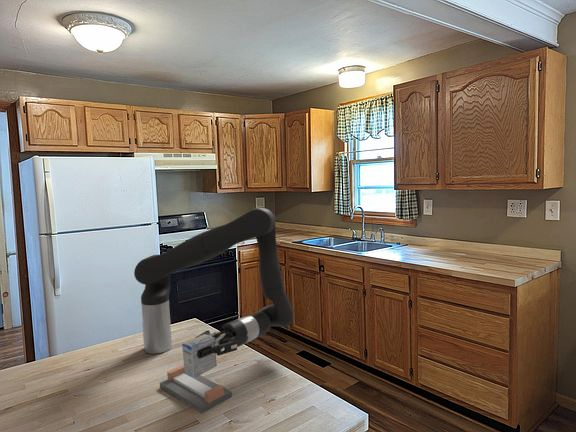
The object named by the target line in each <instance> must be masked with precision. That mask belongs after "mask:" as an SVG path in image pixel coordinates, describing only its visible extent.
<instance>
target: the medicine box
mask: <svg viewBox="0 0 576 432" xmlns="http://www.w3.org/2000/svg"><path fill="white" fill-rule="evenodd" d="M196 337H197V336H196ZM214 342H215V338H214V337H212V336H209V335H206V334H204V335H201V336H199V337H197V338H195V337H194V338H192V339H190V340H187V341H185V342H183V343H182V347H181V348H182V357H183V358H182V359H183V366H184V372H185V374H186V375H188V376H190V377H192V378H195V377H197V376H199V375H201V376H202V375H203V374H205V373H207V372H208V371H210V370H212V369H214V368H216V367H217V366H218V365H217V353H216V354H214V355H211V354H210V355H207V356H205V357H203V358H201V359H200V358H198V356H197V351H198V350H200V349H202V348H204V347H207V346H210V345H211V344H213V343H214Z"/></svg>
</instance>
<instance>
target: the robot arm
mask: <svg viewBox="0 0 576 432" xmlns="http://www.w3.org/2000/svg"><path fill="white" fill-rule="evenodd" d="M276 223H277V222H276V217H275V214H274V213H273V212H272V211H271V210H270V209H268V208H265V207H257V208H252V209H251V210H249V211H247V212H245V213H243V214H242V215H241V216H239V217H237V218H236V219H234V220H232V221H230V222H228V223H226V224H222V225H219V226H216V227H214V228H210V229H208V230H206V231H203V232H201V233H199V234H196V235H193V236H192V237H190V238H188V239H187V240H185V241H183V242H181V243H178V245H176V246H174V247H173V248H171V249H169V250H167V251H165V252H163V253H160V254H153V255H150V256H148V257H145V258H143V259H141V260H140V261H139V262H138V263H137V264H136V266H135V267H134V271H133V272H134V274H133V275H134V279H135V280H136V281H137V282H138V283H140V284H142V285H145V287H144V289H143V291H142V294H141V296H140V303H141V314H142V316H141V317H142V336H143V348H144V352H145V353H147V354H151V355H153V354H154V355H155V354H161V353H165V352H167V351H169V350H171V349H172V347H173V342H172V328H171V324H172V323H171V315H170V314H171V313H170V298H169V297H170V292H171V274H173V273H176V272H177V271H181V270H184V269H187V268H190V267H194V266H196V265H199V264H201V263H205V262H206V261H208V260H211V259H214V258H215V257H218V256H220V255H221V254H223V253H225V252H226V251H228V250H229V249H230V248H232V247H234V246H235V245H237V244H239V243H242V242H245V241H248V240H251V239H256V242H257V246H258V253H259V254H258V255H259V276H260V277H259V279H260V284H261V288H262V295H263V296H264V298H265V299H267V300H270V301H271V302H272V304H269V305H266V306H264V307H262V308H261V309H259V310H258V311H257V312H254V313H252V314H250V315H247V316H242V317H239V318H237V319H235V320H232V321H230V322H229V321H228V322H227V323H224V324H223V325H222V327H221V329H220V330H219V331H215V332H213V333H211V331H210V329H209V330H205V331H203V332H202V333H200V334H199V335H196V336H195V337H194V338H197V337H199V336H201V335H204V334H206V335H209V336H212V337H214V338H215V342H214V343H213V344H211V345H210V346H207V347H204V348H202V349H200V350H198V351H197V356H198V358H200V359H201V358H203V357H205V356H207V355H210V354H211V355H214V354H216V356H222V355H225V354H229V353H232V352H235V351H238V348H239V347H241V346H243V345H245V344H248V343H249V342H250V343H251V342H252V341H254V340H255V339H257V338H258V337H260V336H263V335H265V334H266V333H267V332H269V331H270V329H271V327H282V328H283V327H284V328H286V327H289V326H290V325H291V324H292V323H293V321H294V309H293V306H292V304H291V302H290V300H289V296H288V295H287V293H286V291H285V289H284V288H285V287H284V282H283V277H282V271H281V266H280V261H279V257H278V256H279V255H278V247H277V233H276Z"/></svg>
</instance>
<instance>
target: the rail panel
mask: <svg viewBox="0 0 576 432" xmlns="http://www.w3.org/2000/svg"><path fill="white" fill-rule="evenodd" d="M166 373H167V379H165V380H162V381H161V382H159V388H160V389H161V390H163V391H164V392H166V393H167V394H170V395H171V396H172V397H174V398H175V399H178V400H179V401H180V402H182V403H183V404H186V405H187V406H189V407H190V408H192V409H193V410H195V411H197V412H199V414H203V413H205V412H207V411H209V410H211V409H212V408H215V407H216V406H218V405H219V404H221V403H223V402H225V401H227V400H229V399H230V398H232V396H233V393H232V392H233V391H231V390H230V389H228V388H226V387H224V386H223V385H222V384H218V383H216V382H215V381H212V380H210V379H209V378H206V377H205V376H203V375H202V374H201V375H199V376H197V377H195V378H192V377H190V376H188V375H186V374H185V372H184V365H179V366H178V367H175V368H173V369H171V370H168V371H167V372H166Z"/></svg>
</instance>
